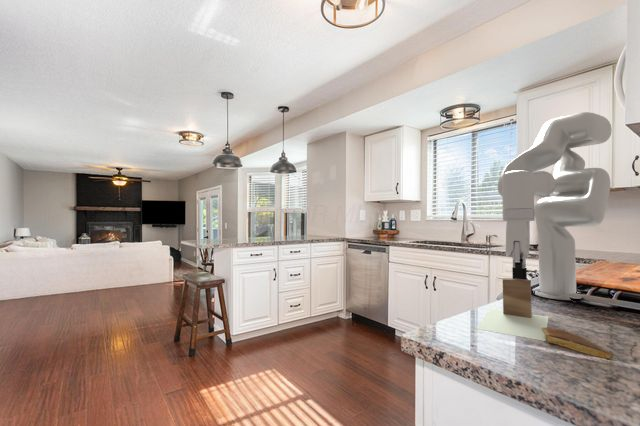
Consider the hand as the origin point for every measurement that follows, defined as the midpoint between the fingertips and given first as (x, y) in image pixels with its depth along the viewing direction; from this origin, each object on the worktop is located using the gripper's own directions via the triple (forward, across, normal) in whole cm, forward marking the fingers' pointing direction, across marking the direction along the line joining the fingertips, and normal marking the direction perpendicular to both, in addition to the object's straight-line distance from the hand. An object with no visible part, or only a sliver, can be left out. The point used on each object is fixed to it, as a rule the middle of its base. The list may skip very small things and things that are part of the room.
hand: (519, 281), depth 89 cm
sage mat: (+8, +15, 0) cm, 17 cm away
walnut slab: (+7, +8, 0) cm, 10 cm away
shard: (+8, +23, +12) cm, 27 cm away
